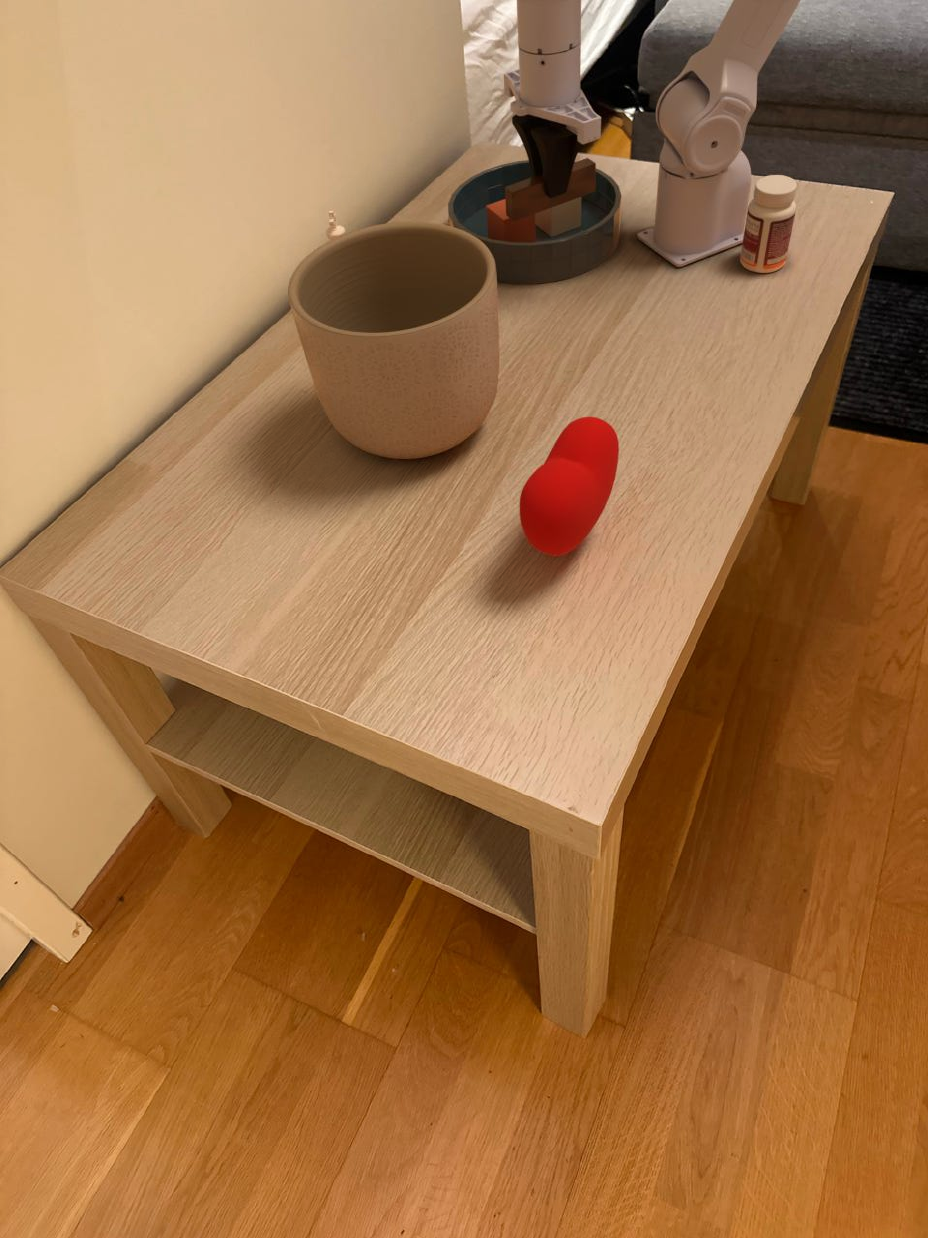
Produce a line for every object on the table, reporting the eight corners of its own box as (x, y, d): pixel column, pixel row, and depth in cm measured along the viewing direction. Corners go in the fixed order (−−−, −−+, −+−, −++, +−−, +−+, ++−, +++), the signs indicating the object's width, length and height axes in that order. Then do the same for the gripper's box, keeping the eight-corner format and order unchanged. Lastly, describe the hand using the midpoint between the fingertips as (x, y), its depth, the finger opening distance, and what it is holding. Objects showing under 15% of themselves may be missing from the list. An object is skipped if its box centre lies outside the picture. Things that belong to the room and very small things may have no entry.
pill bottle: (787, 252, 97) (803, 173, 90) (782, 276, 94) (798, 197, 87) (742, 248, 98) (755, 170, 91) (736, 271, 95) (748, 193, 89)
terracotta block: (518, 228, 104) (516, 194, 100) (536, 243, 101) (535, 208, 98) (488, 239, 103) (485, 205, 99) (505, 254, 100) (503, 219, 97)
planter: (476, 497, 77) (460, 346, 65) (297, 470, 81) (252, 324, 70) (525, 377, 87) (519, 227, 75) (364, 359, 91) (334, 214, 79)
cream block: (562, 212, 105) (562, 178, 102) (581, 226, 103) (581, 191, 99) (533, 223, 104) (532, 188, 101) (551, 237, 102) (550, 202, 99)
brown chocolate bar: (587, 185, 95) (587, 157, 93) (595, 191, 94) (596, 162, 92) (505, 215, 93) (504, 186, 91) (513, 221, 92) (512, 192, 90)
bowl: (562, 180, 111) (562, 143, 107) (653, 246, 100) (656, 207, 96) (424, 229, 106) (419, 192, 103) (503, 304, 95) (500, 264, 92)
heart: (570, 488, 77) (570, 393, 69) (629, 506, 75) (636, 411, 67) (507, 582, 71) (500, 489, 63) (569, 604, 69) (569, 512, 61)
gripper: (473, 31, 85) (483, 175, 96) (554, 79, 77) (555, 230, 87) (536, 12, 87) (540, 155, 97) (622, 56, 78) (616, 208, 89)
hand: (551, 189), depth 93 cm, fingers closed on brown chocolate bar, 1 cm apart
